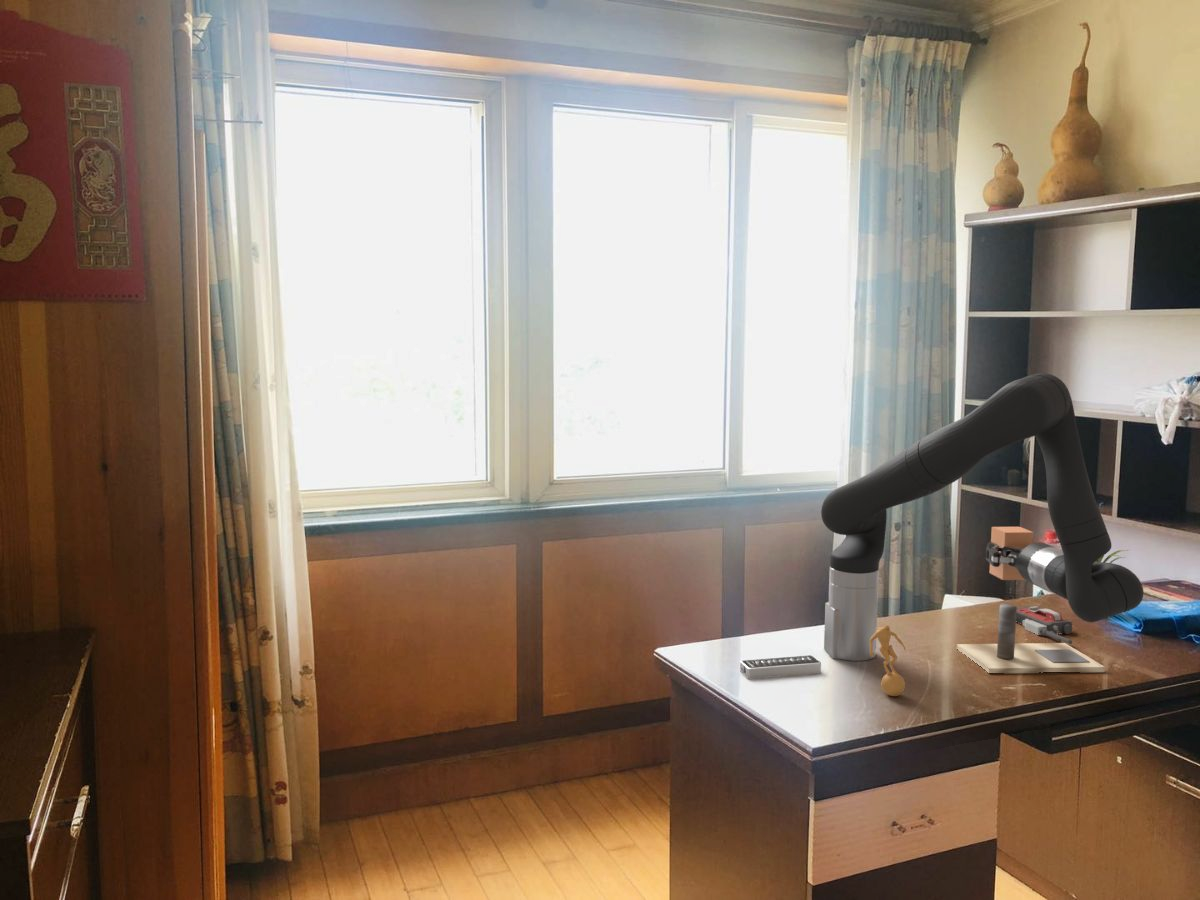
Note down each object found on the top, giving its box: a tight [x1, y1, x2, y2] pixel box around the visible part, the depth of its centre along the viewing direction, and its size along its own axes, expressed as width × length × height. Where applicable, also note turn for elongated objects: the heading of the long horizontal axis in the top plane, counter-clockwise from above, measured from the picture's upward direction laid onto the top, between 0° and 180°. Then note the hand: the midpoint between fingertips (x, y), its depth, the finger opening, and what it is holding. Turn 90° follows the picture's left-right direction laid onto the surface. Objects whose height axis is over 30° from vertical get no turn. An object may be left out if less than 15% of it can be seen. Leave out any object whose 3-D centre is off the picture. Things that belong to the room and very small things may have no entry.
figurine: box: [869, 625, 906, 697], centre depth 164 cm, size 8×6×12 cm
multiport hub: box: [739, 655, 822, 679], centre depth 175 cm, size 4×14×2 cm, turn 103°
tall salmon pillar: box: [989, 526, 1035, 581], centre depth 178 cm, size 5×5×9 cm
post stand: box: [956, 603, 1106, 674], centre depth 181 cm, size 22×14×11 cm, turn 93°
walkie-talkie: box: [1016, 606, 1073, 645], centre depth 200 cm, size 9×4×20 cm
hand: (1004, 547), depth 181 cm, fingers closed on tall salmon pillar, 5 cm apart
